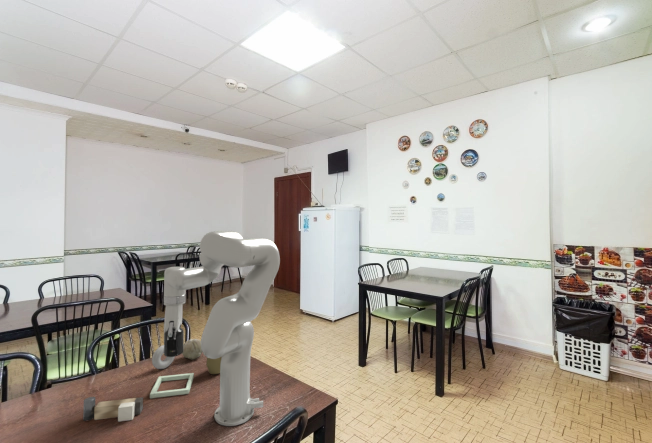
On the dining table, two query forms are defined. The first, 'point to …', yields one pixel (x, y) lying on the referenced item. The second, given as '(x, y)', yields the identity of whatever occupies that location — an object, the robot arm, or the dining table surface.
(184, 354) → the garlic bulb
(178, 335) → the supplement bottle
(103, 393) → the dining table surface
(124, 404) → the block
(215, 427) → the dining table surface
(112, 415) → the leg
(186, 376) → the seat frame
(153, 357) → the donut
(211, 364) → the squeeze bottle
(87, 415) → the pivot post
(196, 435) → the dining table surface
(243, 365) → the robot arm
